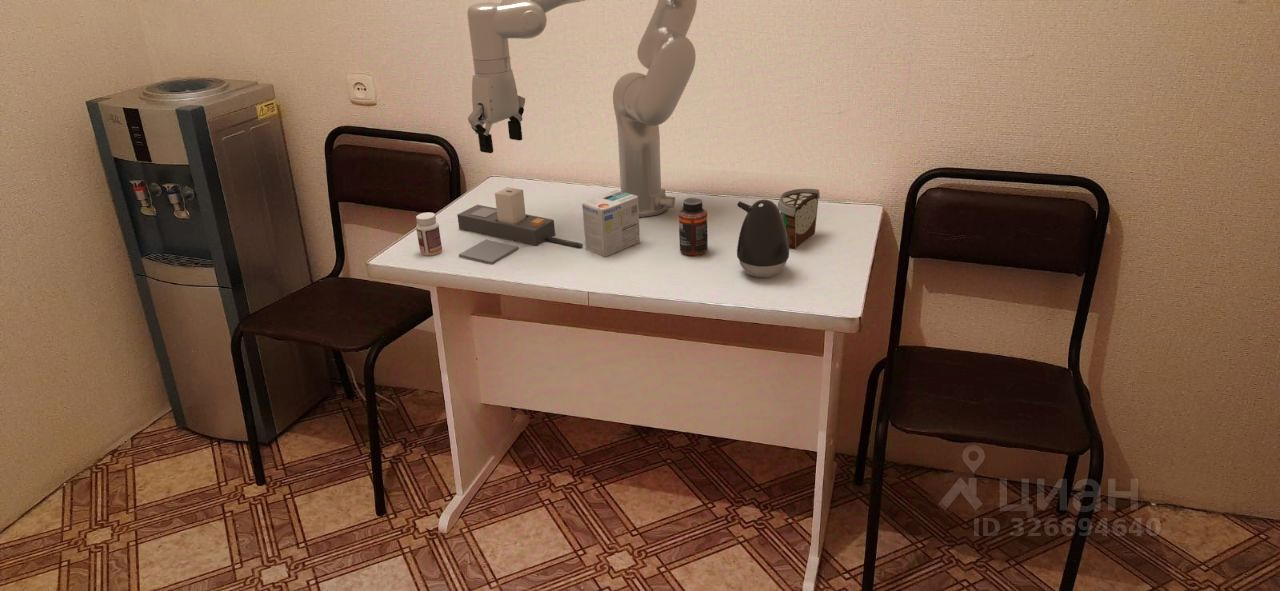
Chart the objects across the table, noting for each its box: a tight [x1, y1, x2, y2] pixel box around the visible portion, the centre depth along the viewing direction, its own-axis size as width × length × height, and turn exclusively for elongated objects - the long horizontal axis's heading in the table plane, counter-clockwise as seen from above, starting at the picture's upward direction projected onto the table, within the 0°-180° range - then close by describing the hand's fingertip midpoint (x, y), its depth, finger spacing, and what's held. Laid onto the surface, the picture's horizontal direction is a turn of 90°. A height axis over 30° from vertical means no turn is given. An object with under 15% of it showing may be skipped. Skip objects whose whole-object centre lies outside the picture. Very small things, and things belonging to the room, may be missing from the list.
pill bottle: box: [415, 212, 443, 257], centre depth 194 cm, size 5×5×8 cm
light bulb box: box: [581, 189, 641, 258], centre depth 192 cm, size 11×7×11 cm, turn 135°
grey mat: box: [458, 239, 519, 265], centre depth 193 cm, size 9×9×1 cm
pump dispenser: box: [736, 198, 790, 278], centre depth 176 cm, size 10×10×15 cm
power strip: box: [456, 204, 584, 249], centre depth 200 cm, size 32×7×4 cm, turn 59°
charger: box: [494, 186, 526, 225], centre depth 200 cm, size 4×4×8 cm
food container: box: [776, 188, 821, 250], centre depth 191 cm, size 12×6×10 cm, turn 145°
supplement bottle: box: [678, 197, 709, 257], centre depth 187 cm, size 6×6×11 cm
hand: (501, 145), depth 194 cm, fingers open, 9 cm apart
